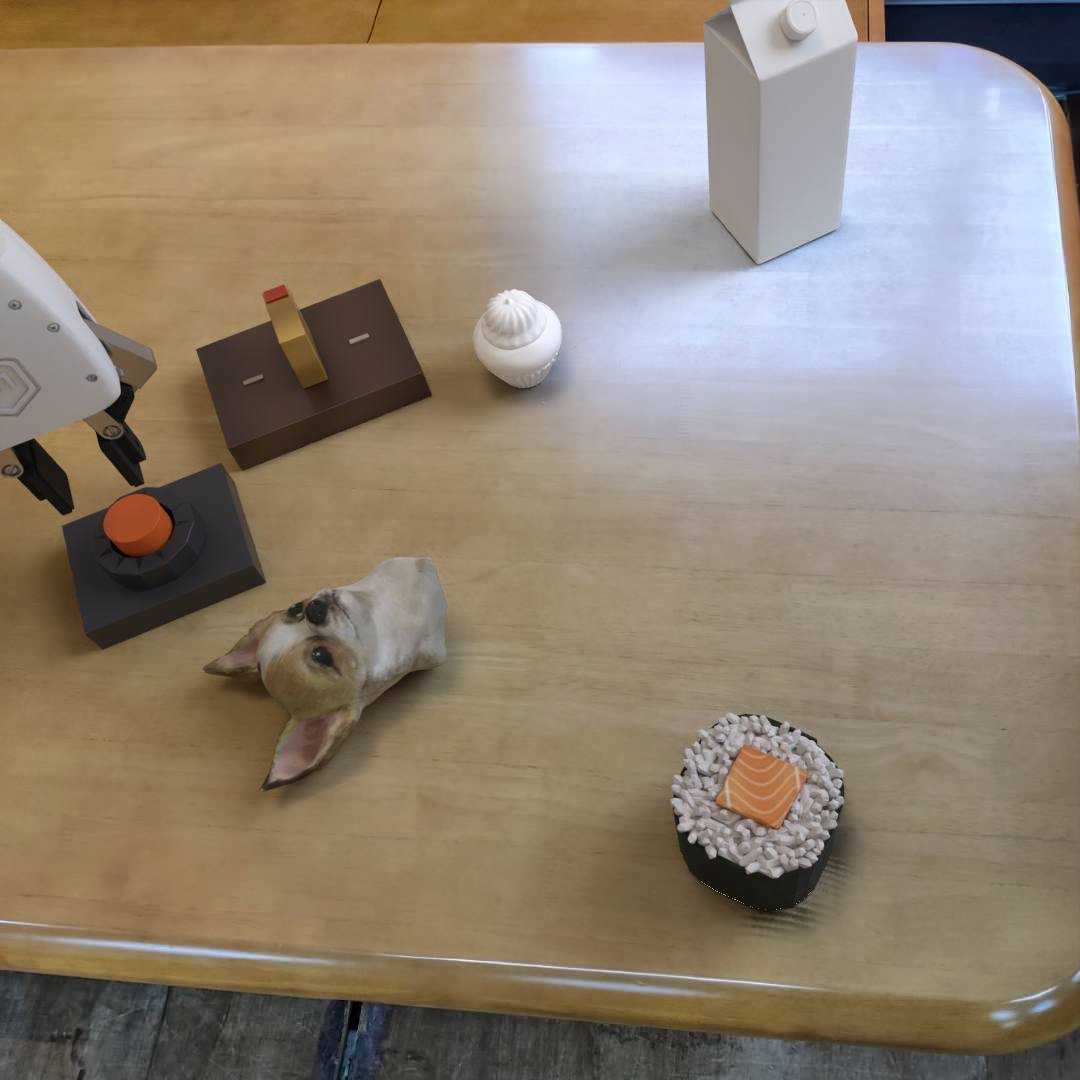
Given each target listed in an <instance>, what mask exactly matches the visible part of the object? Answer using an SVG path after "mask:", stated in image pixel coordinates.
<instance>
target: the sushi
mask: <svg viewBox="0 0 1080 1080" xmlns="http://www.w3.org/2000/svg"><path fill="white" fill-rule="evenodd" d="M696 735H697V737H698V739H699V741H697V740H694V742H693V743H692V744H691V745H690V747H691V748H688V747H685V749H684V750H683V751H682V755H683V756H684V758H683V759H682V763H683V768H682V769H681V770H680V771H681V772H680V774H674V775H673V776H672V778H671V780H672V782H673V784H672V785H670V792H671V793H672V794H673V796H672V798H670V799H669V803H670V808H672V811H673V812H672V813H673V817H674V824H675V829H676V835H677V840H678V847H679V852H680V854H681V853H682V854H681V856H682V855H683V856H682V858H683V860H684V863H685V865H686V867H687V866H688V867H687V869H688V868H689V869H688V871H689V873H691V874H692V875H693V876H694V877H695V879H696V880H697V881H698V882H700V883H701V884H702V885H704V886H705V887H707V888H709V889H710V890H711V891H713V892H715V893H716V894H718V895H721V896H723V897H725V898H728V899H730V900H732V901H734V902H736V903H738V904H741V905H743V906H745V907H748V908H750V909H752V910H756V911H763V912H769V913H775V912H779V911H783V910H787V909H791V908H794V907H796V906H797V905H799V904H801V903H802V902H804V901H805V900H807V899H808V898H809V896H810V895H811V894H812V893H813V892H814V891H815V889H816V887H817V885H818V883H819V881H820V878H821V877H822V874H823V872H824V870H825V868H826V866H827V864H828V862H829V859H830V857H831V856H832V852H833V848H834V842H835V839H836V838H835V837H836V832H837V827H838V826H839V825H838V823H839V820H840V817H841V814H842V811H843V807H844V804H845V784H844V780H843V777H844V775H845V770H843V769H839V767H838V766H837V764H836V762H835V761H834V760H833V758H832V757H831V756H830V755H829V754H828V753H827V752H826V751H825V750H824V749H823V748H822V747H821V746H820V745H819V744H818V739H817V738H816V737H814V736H812V735H810V734H809V733H806V732H804V731H802V730H801V729H800V728H795V727H794V726H790V724H789V722H788V721H783V722H781V721H779V720H776V719H774V718H771V717H769V716H766V715H765V714H763V715H760V714H753V713H752V714H751V713H743V714H736V713H732V712H727V713H726V715H725V716H721V715H720V716H719V717H717V722H716V723H714V724H713V725H712V726H711V727H710V728H709V729H707V730H705V729H701V728H700V729H699V730H697V731H696ZM829 856H830V857H829ZM822 871H823V872H822ZM701 881H702V882H703V883H702V882H701ZM704 883H705V884H706V885H705V884H704ZM707 885H708V886H710V887H711V888H710V887H708V886H707ZM712 888H713V889H714V890H713V889H712ZM715 890H716V891H718V892H716V891H715ZM811 891H812V892H811ZM719 892H720V893H719ZM810 892H811V893H810ZM721 893H722V894H721ZM809 893H810V894H809ZM723 894H725V895H726V896H725V895H723ZM808 894H809V895H808ZM728 896H729V897H728ZM732 898H733V899H732ZM804 898H805V899H804ZM734 899H736V900H734ZM737 900H738V901H737ZM739 901H740V902H739ZM799 901H800V902H799ZM741 902H742V903H741ZM743 903H744V904H743ZM796 903H797V904H796ZM750 906H751V907H750ZM752 907H753V908H752ZM758 908H759V909H758ZM780 908H781V909H780ZM765 909H766V910H765ZM776 909H777V910H776Z"/></svg>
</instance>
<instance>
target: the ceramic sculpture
mask: <svg viewBox="0 0 1080 1080" xmlns="http://www.w3.org/2000/svg"><path fill="white" fill-rule="evenodd" d="M447 613H448V602H447V599H446V595H445V592H444V589H443V585H442V582H441V579H440V576H439V574H438V570H437V566H436V564H435V561H434V560H433V559H432V557H430V556H428V555H426V556H424V557H415V556H399V557H398V556H397V557H391V558H387V559H384V560H383V561H381V562H379V563H377V564H375V566H373V568H372V569H371V570H370V571H369V572H367V573H366V574H365V575H364V576H363V577H362V578H361V579H360V580H358V581H357V582H354V583H352V584H348V585H343V586H338V587H334V588H330V587H325V588H323V589H322V588H321V589H320V590H319V591H316V592H314V593H313V594H312V595H311V596H308V598H305V599H303V600H301V601H298V602H296V603H294V604H291V605H290V606H289V607H288V608H286V609H281V610H275V611H272V612H271V613H270V614H269V615H268V616H267V617H265V618H263V619H260V620H257V621H256V622H255V623H254V624H253V625H252V626H251V627H250V628H249V629H248V633H247V634H245V635H243V636H242V637H241V638H240V639H239V640H238V641H237V642H236V643H235V645H234V646H233V647H232V648H231V649H230V650H229V651H228V652H227V653H225V654H224V655H223V656H221V657H219V658H215V659H214V660H212V661H211V662H209V663H207V664H205V666H203V667H202V670H203V673H205V674H209V675H213V676H220V677H226V678H229V679H233V680H237V681H240V682H245V683H249V684H257V683H263V685H264V687H265V689H266V690H267V692H268V693H269V694H270V696H271V697H272V698H273V700H274V701H275V702H276V703H277V704H279V706H281V707H282V708H284V709H285V710H286V711H287V712H288V713H289V714H290V718H289V720H288V721H286V722H285V724H284V726H283V727H282V729H281V731H280V732H279V734H278V736H277V739H276V742H275V745H274V751H273V752H274V753H273V757H272V758H271V759H272V760H271V763H270V767H269V770H268V774H267V775H266V777H265V779H264V781H263V782H262V784H261V786H260V788H259V790H260V792H262V793H265V792H268V791H271V790H275V789H278V788H282V787H286V786H288V785H293V784H295V783H297V782H300V781H302V780H304V779H307V778H308V777H310V776H312V774H315V773H316V772H319V771H321V770H322V769H323V768H325V766H327V765H328V764H329V763H330V762H331V761H332V760H333V759H334V758H335V757H336V756H337V755H338V754H339V753H340V752H341V750H342V748H344V746H345V744H346V742H347V741H348V739H350V737H351V735H352V734H353V732H354V730H355V729H356V727H357V725H358V723H359V721H360V719H361V717H362V712H363V710H364V708H366V707H367V706H369V705H370V704H372V703H373V702H375V701H376V700H377V699H378V698H379V697H380V696H381V695H382V694H383V693H384V692H386V691H387V690H388V689H390V688H391V687H392V686H394V685H395V684H396V683H398V682H399V681H401V679H402V678H403V677H405V676H406V675H407V674H409V673H412V672H415V671H422V670H431V669H435V668H438V667H439V668H440V667H441V666H442V665H444V663H445V662H446V661H447V646H446V637H445V636H446V635H445V623H446V619H447Z"/></svg>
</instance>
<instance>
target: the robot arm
mask: <svg viewBox="0 0 1080 1080" xmlns="http://www.w3.org/2000/svg"><path fill="white" fill-rule="evenodd" d="M157 370H158V364H157V361H156V358H155V355H154V351H153V349H152V348H151V347H150V346H148V345H145V344H143V343H141V342H140V341H139V342H138V341H137V340H134V339H132V338H130V337H128V336H125V335H123V334H121V333H119V332H116V331H114V330H112V329H110V328H108V327H105V326H104V325H101V324H99V322H98V321H97V320H96V319H95V317H94V316H93V314H92V313H91V312H90V310H88V308H87V307H86V305H85V304H84V303H83V302H82V300H81V299H80V298H79V297H78V296H77V295H76V293H74V291H73V290H72V289H71V287H69V286H68V284H67V283H66V282H65V280H63V279H62V277H61V276H60V275H59V274H58V273H57V272H56V270H55V269H53V268H52V266H51V265H50V264H49V263H48V262H47V260H46V259H44V258H43V257H42V256H41V255H40V254H39V253H38V252H37V251H36V250H35V249H34V248H33V247H32V246H31V245H30V244H29V243H28V242H27V241H26V240H25V239H24V238H22V236H20V234H18V233H17V231H15V230H14V229H13V228H11V227H10V226H9V225H8V224H7V223H6V222H5V221H3V219H1V218H0V476H1V477H3V478H5V479H17V480H18V481H19V482H20V483H21V484H22V485H23V486H24V487H25V488H26V489H27V490H28V491H29V492H30V493H31V494H32V495H33V496H34V497H35V498H36V499H37V500H38V501H39V502H43V501H45V500H47V502H48V503H49V504H50V505H51V506H52V507H53V508H54V509H55V510H56V511H57V512H58V513H59V514H60V515H61V516H63V517H64V516H67V515H69V514H72V513H73V510H75V509H76V508H75V503H74V499H73V494H72V489H71V486H70V482H69V477H68V475H67V473H66V471H65V470H64V469H63V467H61V465H60V464H58V462H57V461H56V460H55V459H54V458H53V457H52V456H51V454H50V453H49V452H48V451H47V450H46V449H45V448H44V447H43V446H42V445H41V444H40V443H39V441H38V440H37V439H36V438H38V437H41V436H43V435H46V434H49V433H51V432H54V431H57V430H59V429H61V428H64V427H66V426H69V425H71V424H74V423H76V422H80V421H83V422H84V423H86V425H88V426H89V427H90V428H91V429H92V430H94V433H95V435H96V440H97V444H98V447H99V449H100V451H101V452H102V454H103V455H104V456H105V457H106V459H107V460H108V461H109V462H110V463H111V465H112V466H113V467H114V468H115V470H117V472H118V473H119V474H120V475H121V477H123V479H124V480H125V481H126V482H127V483H128V485H129V486H130V487H134V488H138V487H140V486H143V485H145V483H146V482H145V478H144V474H143V472H142V467H141V464H140V463H142V462H144V461H146V460H147V454H146V451H145V449H144V446H143V444H142V442H141V441H140V439H139V438H138V437H137V435H136V434H135V432H134V431H133V430H132V429H131V427H130V426H129V425H128V423H127V422H126V421H125V420H126V417H127V415H128V413H129V411H130V409H131V407H132V405H133V403H134V401H135V398H136V395H135V394H136V392H137V391H138V390H141V389H142V388H143V386H144V385H146V384H147V382H148V381H149V380H150V379H151V378H152V376H153V375H154V374H155V373H156V372H157Z"/></svg>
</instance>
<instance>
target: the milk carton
mask: <svg viewBox="0 0 1080 1080" xmlns="http://www.w3.org/2000/svg"><path fill="white" fill-rule="evenodd" d="M728 1H729V2H728V5H726V6H725V7H723V8H722V9H721V10H719V11H718V12H716V13H714V14H713V15H712V16H710V17H709V18H707V19H705V20H704V21H703V49H704V50H703V52H704V53H703V54H704V77H705V78H704V81H705V106H706V135H707V137H706V138H707V139H706V140H707V164H708V165H707V166H708V193H709V194H708V195H709V208H710V210H711V212H713V214H714V215H715V216H716V217H717V218H718V220H719V221H720V222H721V223H722V224H723V225H724V227H725V228H726V229H727V230H728V231H729V233H730V234H731V235H732V237H734V239H735V240H736V241H737V243H739V245H740V246H741V247H742V249H743V250H745V252H746V253H747V254H748V256H750V258H751V259H752V260H753V261H754V262H755V264H756V265H761V264H764V263H766V262H768V261H771V260H773V259H774V258H777V257H780V256H781V255H783V254H786V253H787V252H790V251H792V250H794V249H797V248H799V247H801V246H804V245H805V244H807V243H810V242H812V241H814V240H816V239H818V238H820V237H822V236H825V235H827V234H829V233H832V232H834V231H835V230H837V229H839V228H840V227H841V221H842V220H841V219H842V210H843V200H844V190H845V179H846V170H847V169H846V168H847V157H848V147H849V137H850V128H851V127H850V126H851V118H852V117H851V116H852V107H853V106H852V105H853V96H854V95H853V94H854V85H855V77H856V76H855V75H856V63H857V53H858V43H859V42H858V41H859V40H858V39H859V36H858V35H859V34H858V32H857V28H856V25H855V24H854V21H853V19H852V15H851V12H850V10H849V8H848V4H847V2H846V0H728Z"/></svg>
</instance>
